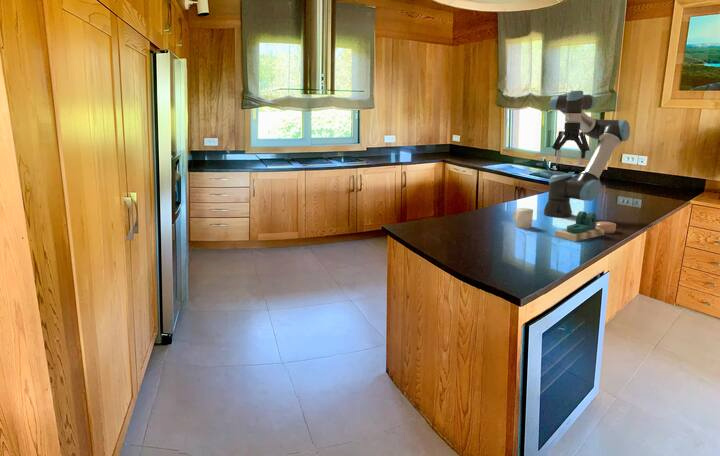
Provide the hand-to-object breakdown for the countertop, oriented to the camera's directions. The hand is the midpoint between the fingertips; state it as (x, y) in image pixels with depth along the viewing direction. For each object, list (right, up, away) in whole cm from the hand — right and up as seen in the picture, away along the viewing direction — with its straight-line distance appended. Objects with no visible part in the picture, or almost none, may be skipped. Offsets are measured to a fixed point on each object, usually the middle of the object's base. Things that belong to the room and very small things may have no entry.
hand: (569, 163), depth 260 cm
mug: (-25, -33, 0) cm, 41 cm away
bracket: (-3, -35, -20) cm, 40 cm away
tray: (-3, -37, -19) cm, 42 cm away
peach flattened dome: (+14, -35, -10) cm, 39 cm away
